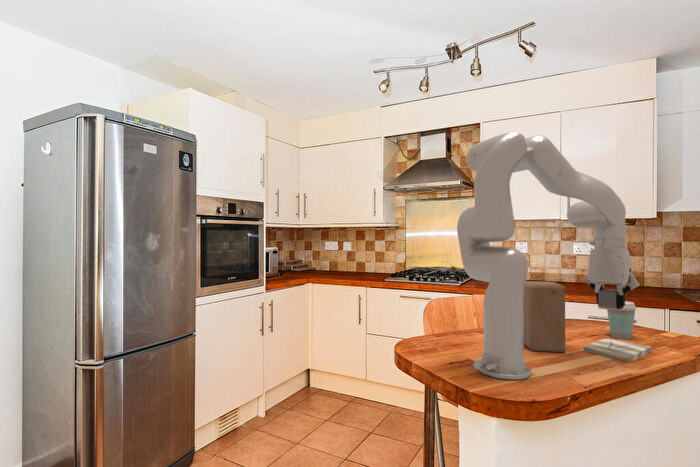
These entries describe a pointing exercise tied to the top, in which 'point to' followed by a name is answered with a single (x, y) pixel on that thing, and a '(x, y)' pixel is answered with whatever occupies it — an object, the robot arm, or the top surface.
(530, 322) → the wooden block
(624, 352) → the board
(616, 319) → the coffee cup
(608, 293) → the block
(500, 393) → the top surface
